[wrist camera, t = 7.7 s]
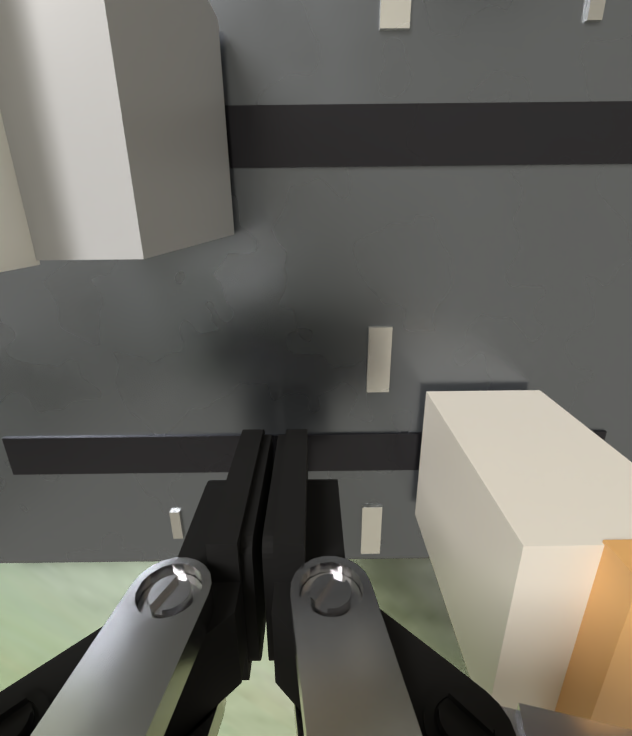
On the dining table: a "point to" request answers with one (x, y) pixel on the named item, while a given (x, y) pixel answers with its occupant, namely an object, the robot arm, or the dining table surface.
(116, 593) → the dining table surface
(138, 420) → the console
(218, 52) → the grey fader
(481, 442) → the ivory fader
